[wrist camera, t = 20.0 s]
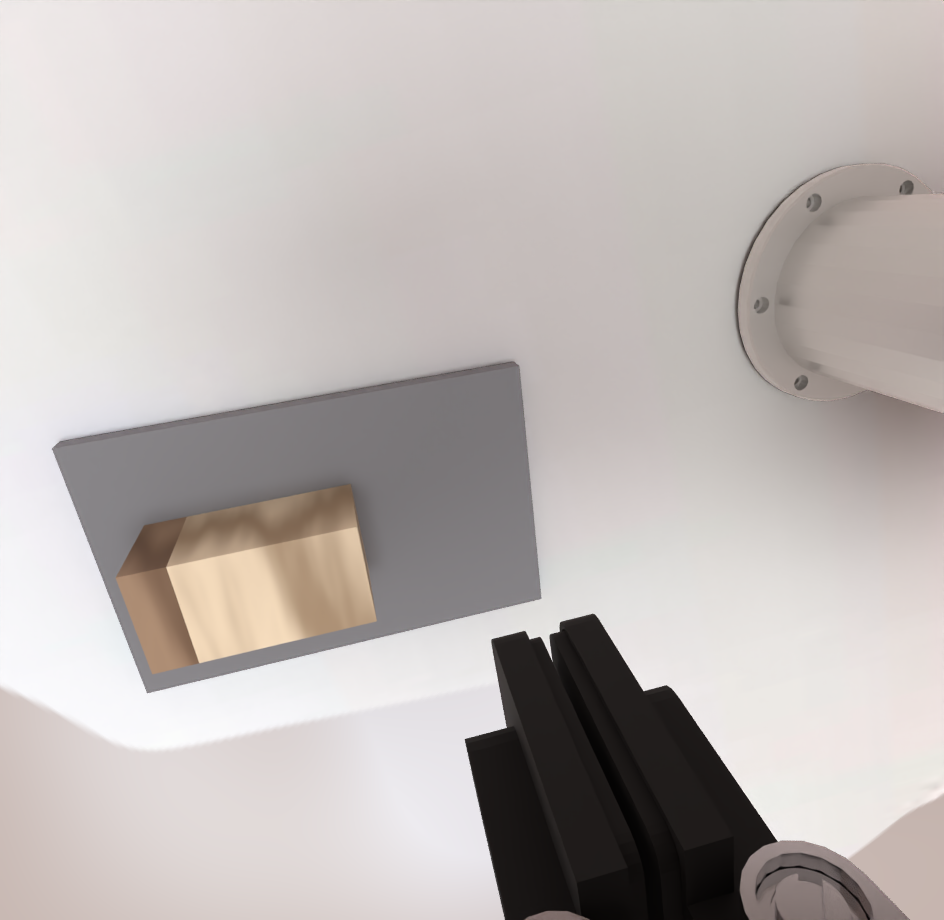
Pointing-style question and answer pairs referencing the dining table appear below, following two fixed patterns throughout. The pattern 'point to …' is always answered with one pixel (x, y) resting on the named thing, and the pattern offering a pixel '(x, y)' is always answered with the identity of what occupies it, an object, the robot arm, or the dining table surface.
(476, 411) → the mat
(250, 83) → the dining table surface
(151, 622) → the maple block
